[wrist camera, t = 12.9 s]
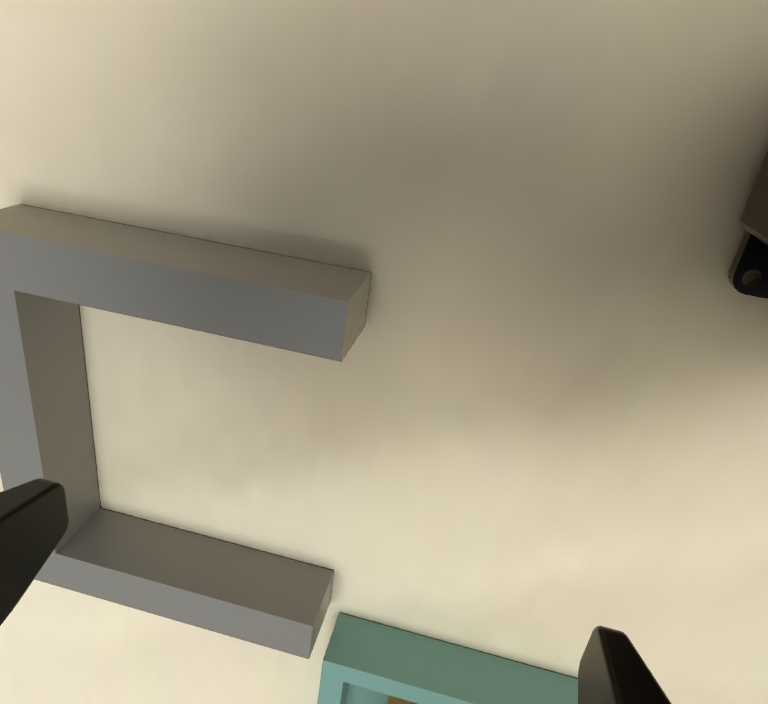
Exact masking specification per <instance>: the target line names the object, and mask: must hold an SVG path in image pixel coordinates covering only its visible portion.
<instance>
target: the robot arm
mask: <svg viewBox="0 0 768 704" xmlns="http://www.w3.org/2000/svg"><path fill="white" fill-rule="evenodd" d="M741 222H742V224H743V226H744V228H745V229H746V232H745V234H744V237H743V239H742V241H741V244H740V246H739V249H738V251H737V254H736V256H735V259H734V261H733V264H732V266H731V268H730V271H729V276H728V278H729V282H730V284H731V285H732V286H733V287H734V288H735V289H736V290H737V291H738V292H740V293H743V294H745V295H751V296H756V297H762V298H767V299H768V152H767V154H766V157H765V159H764V162H763V164H762V167H761V169H760V172H759V174H758V177H757V179H756V182H755V184H754V187H753V189H752V192H751V194H750V197H749V199H748V202H747V204H746V207H745V209H744V212H743V214H742V217H741ZM749 270H756V271H757V276H756V277H755V279H754V280H752V281H750V282H745V283H744V282H742V276H743V275H744V274H745V273H746V272H747V271H749ZM68 525H69V513H68V506H67V498H66V491H65V488H64V486H63V485H62V484H61V483H58V482H55V481H51V480H47V479H42V478H39V479H35V480H32V481H29V482H27V483H24V484H21V485H19V486H16V487H13V488H10V489H8V490H5V491H2V492H0V625H1V624H2V623H3V622H4V620H5V619H6V618H7V616H8V615H9V614H10V613H11V611H12V610H13V609H14V607H15V606H16V604H17V603H18V602H19V600H20V599H21V597H22V596H23V594H24V593H25V592H26V590H27V589H28V587H29V586H30V584H31V583H32V581H33V580H34V578H35V577H36V575H37V574H38V572H39V571H40V570H41V568H42V567H43V565H44V564H45V562H46V561H47V559H48V558H49V556H50V555H51V553H52V552H53V550H54V549H55V548H56V546H57V545H58V543H59V542H60V540H61V539H62V537H63V536H64V534H65V532H66V530H67V528H68ZM578 704H671V702H670V701H669V699H668V698H667V696H666V695H665V693H664V691H663V690H662V688H661V687H660V685H659V684H658V682H657V681H656V679H655V678H654V676H653V675H652V673H651V672H650V670H649V669H648V667H647V666H646V664H645V662H644V661H643V659H642V658H641V656H640V655H639V653H638V652H637V650H636V649H635V647H634V646H633V644H632V643H631V641H630V640H629V638H628V637H627V635H626V634H624V633H623V632H621V631H618V630H615V629H611V628H607V627H603V626H597V627H596V628H595V629H594V630H593V632H592V634H591V637H590V639H589V641H588V644H587V646H586V649H585V651H584V653H583V656H582V658H581V661H580V665H579V672H578Z"/></svg>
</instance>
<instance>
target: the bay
mask: <svg viewBox="0 0 768 704" xmlns="http://www.w3.org/2000/svg"><path fill="white" fill-rule="evenodd" d="M370 280H371V273H370V272H365V271H360V270H355V269H350V268H345V267H339V266H334V265H329V264H324V263H319V262H314V261H309V260H304V259H298V258H293V257H288V256H283V255H278V254H273V253H268V252H263V251H257V250H252V249H247V248H242V247H237V246H232V245H227V244H222V243H216V242H211V241H206V240H201V239H196V238H191V237H186V236H181V235H175V234H170V233H165V232H160V231H155V230H150V229H145V228H140V227H134V226H129V225H124V224H119V223H114V222H109V221H104V220H99V219H93V218H88V217H83V216H78V215H73V214H68V213H63V212H58V211H52V210H47V209H42V208H37V207H32V206H27V205H22V204H19V205H15V206H11V207H7V208H3V209H0V473H1V478H2V483H3V488H4V491H5V490H8V489H10V488H13V487H16V486H19V485H21V484H24V483H27V482H29V481H32V480H35V479H39V478H42V479H47V480H51V481H55V482H58V483H61V484H62V485H63V486H64V488H65V491H66V498H67V506H68V513H69V525H68V528H67V530H66V532H65V534H64V536H63V537H62V539H61V540H60V542H59V543H58V545H57V546H56V548H55V549H54V550H53V552H52V553H51V555H50V556H49V558H48V559H47V561H46V562H45V564H44V565H43V567H42V568H41V570H40V571H39V572H38V574H37V575H36V577H35V578H34V579H35V580H39V581H42V582H45V583H49V584H52V585H56V586H59V587H63V588H66V589H69V590H73V591H76V592H80V593H83V594H87V595H90V596H94V597H97V598H100V599H104V600H107V601H111V602H114V603H118V604H121V605H124V606H128V607H131V608H135V609H138V610H142V611H145V612H149V613H152V614H155V615H159V616H162V617H166V618H169V619H173V620H176V621H179V622H183V623H186V624H190V625H193V626H197V627H200V628H203V629H207V630H210V631H214V632H217V633H221V634H224V635H228V636H231V637H234V638H238V639H241V640H245V641H248V642H252V643H255V644H258V645H262V646H265V647H269V648H272V649H276V650H279V651H283V652H286V653H289V654H293V655H296V656H300V657H303V658H307V659H309V658H310V655H311V652H312V650H313V647H314V644H315V641H316V639H317V636H318V633H319V631H320V628H321V625H322V623H323V620H324V617H325V615H326V612H327V609H328V606H329V604H330V599H331V591H332V583H333V575H334V571H333V570H329V569H325V568H322V567H318V566H314V565H310V564H307V563H303V562H299V561H296V560H292V559H288V558H284V557H281V556H277V555H273V554H269V553H266V552H262V551H258V550H255V549H251V548H247V547H243V546H240V545H236V544H232V543H228V542H225V541H221V540H217V539H214V538H210V537H206V536H202V535H199V534H195V533H191V532H187V531H184V530H180V529H176V528H172V527H169V526H165V525H161V524H158V523H154V522H150V521H146V520H143V519H139V518H135V517H131V516H128V515H124V514H120V513H117V512H113V511H109V510H105V509H102V508H100V499H99V490H98V480H97V471H96V462H95V453H94V443H93V434H92V425H91V416H90V406H89V397H88V388H87V379H86V369H85V360H84V351H83V341H82V332H81V323H80V314H79V305H83V306H88V307H92V308H97V309H101V310H106V311H111V312H115V313H120V314H124V315H129V316H134V317H138V318H143V319H147V320H152V321H157V322H161V323H166V324H170V325H175V326H180V327H184V328H189V329H193V330H198V331H202V332H207V333H212V334H216V335H221V336H225V337H230V338H235V339H239V340H244V341H248V342H253V343H258V344H262V345H267V346H271V347H276V348H281V349H285V350H290V351H294V352H299V353H304V354H308V355H313V356H317V357H322V358H326V359H331V360H336V361H340V362H342V360H343V359H344V357H345V356H346V354H347V353H348V351H349V349H350V348H351V346H352V345H353V343H354V342H355V340H356V339H357V337H358V336H359V334H360V333H361V331H362V329H363V328H364V326H365V320H366V312H367V304H368V296H369V288H370Z"/></svg>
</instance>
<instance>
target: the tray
mask: <svg viewBox="0 0 768 704" xmlns="http://www.w3.org/2000/svg"><path fill="white" fill-rule="evenodd" d="M389 695H390V696H394V697H397V698H400V699H404V700H407V701H411V702H414V703H418V704H578V679H576V678H572V677H569V676H565V675H562V674H558V673H554V672H551V671H547V670H544V669H540V668H536V667H533V666H529V665H526V664H522V663H518V662H515V661H511V660H508V659H504V658H500V657H497V656H493V655H490V654H486V653H482V652H479V651H475V650H472V649H468V648H464V647H461V646H457V645H454V644H450V643H446V642H443V641H439V640H436V639H432V638H428V637H425V636H421V635H418V634H414V633H410V632H407V631H403V630H400V629H396V628H392V627H389V626H385V625H382V624H378V623H374V622H371V621H367V620H364V619H360V618H356V617H353V616H349V615H346V614H342V613H339V615H338V618H337V621H336V624H335V627H334V630H333V633H332V636H331V638H330V641H329V644H328V647H327V650H326V653H325V656H324V659H323V664H322V672H321V680H320V688H319V696H318V704H387V700H388V696H389Z"/></svg>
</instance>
